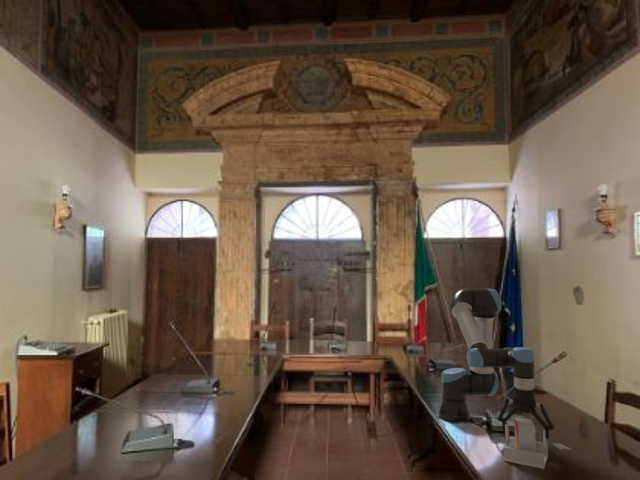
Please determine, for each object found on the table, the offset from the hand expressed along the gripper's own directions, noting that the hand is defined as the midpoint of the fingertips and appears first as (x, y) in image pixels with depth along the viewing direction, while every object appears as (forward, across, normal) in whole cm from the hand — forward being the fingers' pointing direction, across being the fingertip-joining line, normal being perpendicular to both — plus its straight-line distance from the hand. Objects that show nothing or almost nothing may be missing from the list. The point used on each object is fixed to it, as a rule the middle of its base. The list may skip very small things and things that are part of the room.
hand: (525, 443), depth 178 cm
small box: (+5, 0, 0) cm, 5 cm away
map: (+6, +16, +16) cm, 23 cm away
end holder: (+6, 0, 0) cm, 6 cm away
